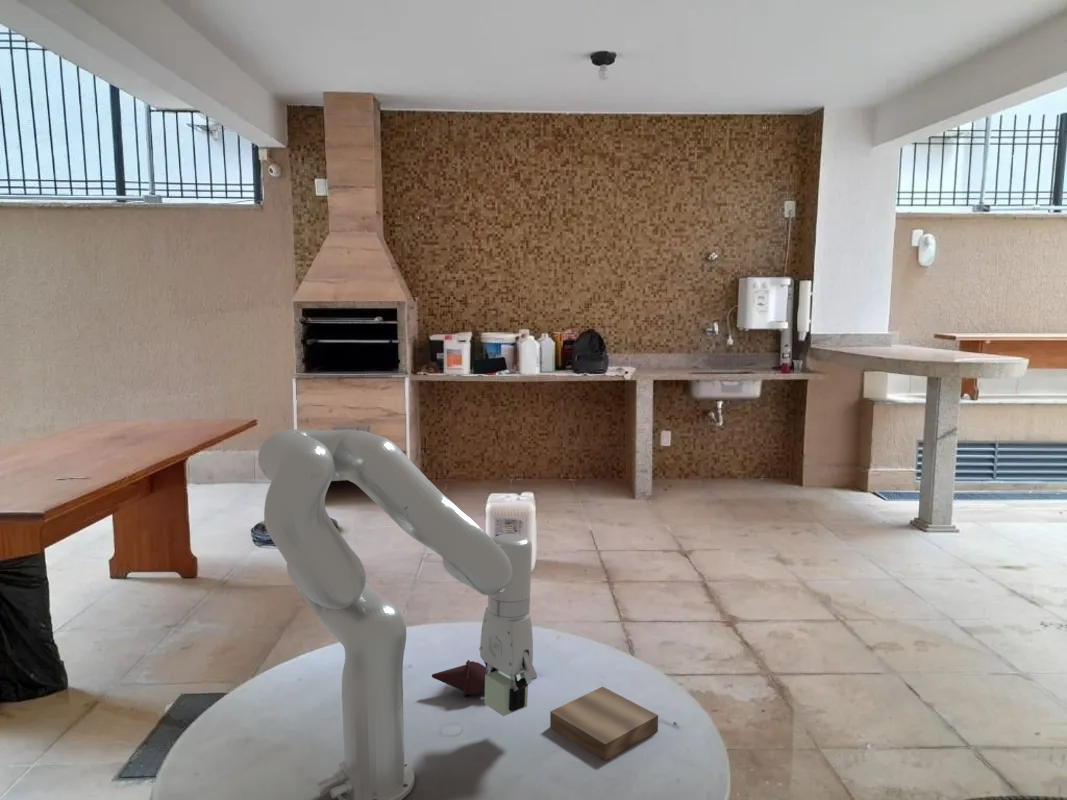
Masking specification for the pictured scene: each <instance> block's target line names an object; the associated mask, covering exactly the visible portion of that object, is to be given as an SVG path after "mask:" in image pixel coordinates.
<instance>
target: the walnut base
mask: <svg viewBox="0 0 1067 800" xmlns="http://www.w3.org/2000/svg"><path fill="white" fill-rule="evenodd" d="M549 714H550V716H549V717H550V718H549V719H550V720H549V721H550V722H549V724H550V725H549V726H550V728H551V729H552V730H555V731H557V732H558V733H559V734H561V735H563V736H564V737H565V738H568V739H569V740H571V741H573V742H574V743H576V744H578V745H579V746H581V747H582V748H584V749H586V750H587V751H588V752H590V753H592V754H594V755H595V756H596V757H598V758H600V759H602V760H603V761H604V762H605V761H608V760H609V759H612V758H613V757H614V756H615V757H616V755H618V754H620V753H622V752H624V751H625V750H627V749H628V748H630V747H632V746H634V745H636V744H638V743H639V742H640V741H641V742H642V740H644V739H646V738H647V737H650V736H651V735H653V734H655V733H656V732H658V731H659V715H658V714H657V713H655V712H653V711H651V710H649V709H647V708H645V707H643V706H641V705H639V704H637V703H636V702H633V701H632V700H629V699H627V698H626V697H624V696H623V695H620V694H618V693H616V692H614V691H612V690H610V689H608V688H606V687H604V686H600V687H598V688H597V689H594V690H592V691H590V692H588V693H586V694H584V695H581V696H579V697H578V698H575V699H574V700H572V701H569V702H567V703H566V704H563V705H561V706H559V707H557V708H555V709H553V710H550V713H549Z"/></svg>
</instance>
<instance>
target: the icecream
mask: <svg viewBox="0 0 1067 800" xmlns="http://www.w3.org/2000/svg"><path fill="white" fill-rule="evenodd" d="M486 668H487V667H486V666H484V665H483V664H481V663H480V662H476V661H471V660H470V659H468V660H467V661H465V664H463V665H459V666H456V667H453V668H450V669H445V670H442V671H439V672H436V673H432V674H431V678H432V679H434V680H437V681H439V682H442V683H444V684H447V685H448V686H451V687H453V688H455V689H457V690H460V691H463V692H464V693H463V696H464V697H466V696H476V695H479V694H481V693H482V692H485V674H487V673H486Z"/></svg>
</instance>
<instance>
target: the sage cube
mask: <svg viewBox="0 0 1067 800" xmlns="http://www.w3.org/2000/svg"><path fill="white" fill-rule="evenodd" d="M520 679H521V677H520V674H518V675H517V681H519V680H520ZM510 689H512V684H511V678H510V676H508V675H506V674H505V673H503V672H501V671H499V670H497V671H494V672H491V673H488V674H485V690H484V700H483V701H484V704H485V706H487V707H489V708H490V709H492V710H493V711H495V712H496V713H498V714H499V715H500V716H502V717H505V716H508V715H510V714H513V713H515V712H518V711H519V710H520V711H521V710H522V709H525V708H527V707H528V694H529V693H528V692H529V691H528V690H529V685H528V686H527V687H525V706H524V707H523V708H520V709H518V710H515V711H513V712H511V711H510V710H509V697H510Z"/></svg>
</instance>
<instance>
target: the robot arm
mask: <svg viewBox="0 0 1067 800" xmlns="http://www.w3.org/2000/svg"><path fill="white" fill-rule="evenodd" d="M257 459H258V460H257V461H258V466H259V469H260V470H261V473H262V474H263V475H264V476H265V477H266V478H267V479H268V480H269V481H270V485H269V487H268V490H267V493H266V496H265V501H264V510H263V517H264V519H263V520H264V525H265V528H266V531H267V534H268V535H269V537H270V539H271V541H272V542H273V544H274V546H275V547H276V548H277V549H278V552H279V553H280V554H281V555H282V558H283V559H284V560H285V562H286V569H287V571H286V572H287V574H288V577H289V579H290V581H291V583H292V584H293V586H294V587H295V589H297V591H298V592H299V593H300V595H301V596H302V597H303V598H304V600H305V601H306V603H307V604H308V605H309V607H310V608H311V610H312V611H313V612H314V613H315V615H316V616H317V617H318V618H319V619H320V621H321V622H322V624H323V625H324V626H325V627H326V628H327V630H328V631H329V632H330V634H332V635H333V636H334V637H335V639H337V641H338V642H339V643H340V644H341V645H342V646H343V649H344V653H345V654H344V656H345V657H344V664H343V669H342V675H341V703H342V728H343V729H342V731H343V758H344V759H343V761H341V762H339V763H337V764H338V765H337V766H338V767H337V768H338V769H337V771H335V772H334V773H333V775H332V776H330V777H328V778H327V777H326V778H324V779H322V780H320V781H317V782H315V785H314V788H315V793H316V794H317V796H322V795H324V794H327V793H330V796H331V799H335V798H337V799H338V800H403V799H404V798H406V797H407V796H408V795H409V794H410V792H411V791H412V790H413V787H414V785H415V771H414V768H413V767H412V766H411V764H409V762H407V761H405V730H404V729H405V727H404V725H405V724H404V723H405V722H404V689H403V688H404V685H403V682H404V679H403V671H404V670H403V669H404V667H403V666H404V655H405V649H406V644H407V643H406V642H407V624H406V621H405V619H404V616H403V614H402V613H401V611H400V609H398V607H397V606H396V605H395V604H394V603H392V601H390V600H389V599H387V598H386V597H385V596H384V595H382V594H381V593H379V592H378V591H377V590H375V589H374V588H373V587H372V586H371V585H370V584H369V583H368V582H367V578H366V570H365V568H364V567H365V566H364V564H363V563H362V560H361V559H360V558H359V556H358V554H357V553H355V551H354V550H353V549H352V548H351V546H350V545H349V544H348V542H347V541H346V540H345V538H344V537H343V535H342V534H341V533H340V531H339V530H338V528H337V526H335V524H334V522H333V520H332V519H331V517H330V516H329V514H328V512H327V509H326V505H325V502H326V495H327V493H328V489H329V487H330V485H331V482H333V481H334V482H335V481H336V482H337V481H338V482H339V481H349V482H351V483H353V484H354V485H356V486H357V487H359V489H360V490H361V491H362V492H363V493H365V494H366V495H367V496H368V497H369V498H370V499H371V500H372V501H373V502H374V503H375V504H376V505H377V506H378V507H379V508H380V509H381V510H382V511H383V512H385V514H386V515H388V516H389V518H390V519H392V521H393V522H395V524H397V525H398V527H399V528H401V529H402V531H404V532H405V533H406V534H407V535H409V536H410V537H411V538H413V539H414V540H415V541H417V542H418V543H420V544H422V545H423V546H425V547H427V548H429V549H430V550H431V551H433V552H435V553H436V554H437V555H439V556H440V557H441V558H442V565H443V567H444V569H445V570H446V572H447V573H448V574H449V575H450V576H452V578H454V579H456V580H457V581H459V582H460V583H462V584H464V585H466V586H467V587H469V588H471V589H472V590H475V591H476V592H477V593H479V594H481V595H484V596H487V606H486V608H485V611H484V615H483V618H482V619H483V620H482V624H481V630H480V631H481V632H480V633H481V634H480V645H479V646H480V647H479V656H480V659H482V661H483V663H484V665H485V668H486V673H487V674H488V673H491V672H494V671H497V670H499V671H501V672H503V673H505V674H506V675H508V676H510V678H511V684H512V689H510V697H509V710H510V711H511V712H513V711H515V710H518V709H520V708H523V707H524V706H525V687H527V686H528V687H529V684H531V683H532V682H533V681H535V680H536V679H537V678H538V674H537V672H536V669H535V667H534V665H533V661H534V639H533V638H534V637H533V627H532V618H531V615H530V611H531V610H530V609H531V607H530V606H531V586H532V585H531V582H532V579H531V578H532V555H533V553H532V552H533V547H532V546H533V545H532V542H531V539H529V538H528V537H527V536H524V535H522V534H516V533H503V534H498V535H496V536H492V537H490V535H489V534H488V533H487V532H486V531H485V530H483V529H482V528H481V527H480V526H479V525H478V524H477V523H476V522H475V521H474V520H473V519H471V517H469V516H468V515H467V514H466V513H464V512H463V511H462V510H461V509H460V508H459V507H458V506H457V505H456V504H455V503H454V502H453V501H452V500H450V499H449V497H447V496H446V495H445V494H443V493H442V492H441V491H440V490H439V489H438V487H437V486H436V485H435V484H433V482H432V481H431V480H429V479H428V478H427V476H426V475H425V474H424V473H423V472H422V470H420V469H419V468H418V467H417V466H416V465H415V464H414V462H412V460H411V459H410V458H409V457H408V456H407V455H406V454H405V453H404V452H403V451H402V450H401V449H400V448H399V447H398V445H396V444H395V443H394V442H393V441H391V440H390V439H388V438H386V437H384V436H382V435H378V434H375V433H372V432H369V431H365V430H358V429H354V430H353V429H351V430H350V429H342V430H341V429H329V430H328V429H282V430H278V431H276V432H273V433H272V434H271V435H269V436H268V437H267V438H266V439H264V441H263V442H262V444H261V445H260V448H259V451H258V457H257ZM518 674H520V677H521V679H520V680H519V681H517V675H518ZM523 709H524V708H523ZM520 710H521V709H520ZM518 711H519V710H518ZM515 712H516V711H515ZM513 713H514V712H513Z"/></svg>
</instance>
